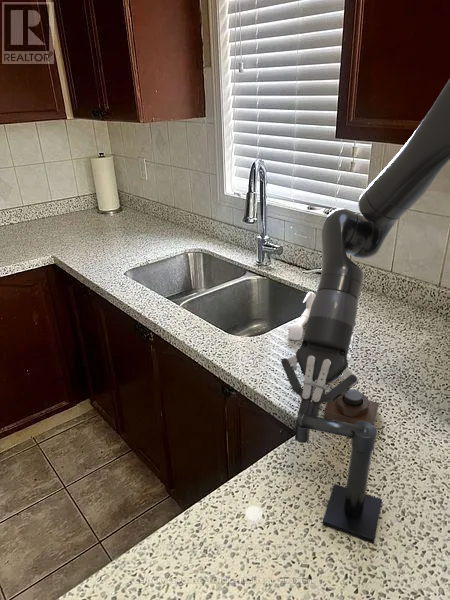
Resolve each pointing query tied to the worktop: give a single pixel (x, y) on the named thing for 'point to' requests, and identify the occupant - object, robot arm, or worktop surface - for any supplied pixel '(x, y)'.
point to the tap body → (354, 502)
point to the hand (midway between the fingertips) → (305, 424)
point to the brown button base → (352, 411)
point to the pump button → (353, 398)
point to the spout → (337, 431)
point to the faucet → (301, 319)
